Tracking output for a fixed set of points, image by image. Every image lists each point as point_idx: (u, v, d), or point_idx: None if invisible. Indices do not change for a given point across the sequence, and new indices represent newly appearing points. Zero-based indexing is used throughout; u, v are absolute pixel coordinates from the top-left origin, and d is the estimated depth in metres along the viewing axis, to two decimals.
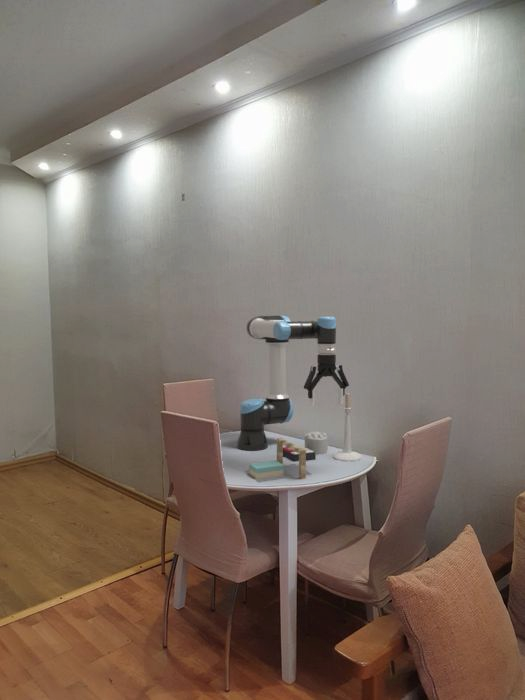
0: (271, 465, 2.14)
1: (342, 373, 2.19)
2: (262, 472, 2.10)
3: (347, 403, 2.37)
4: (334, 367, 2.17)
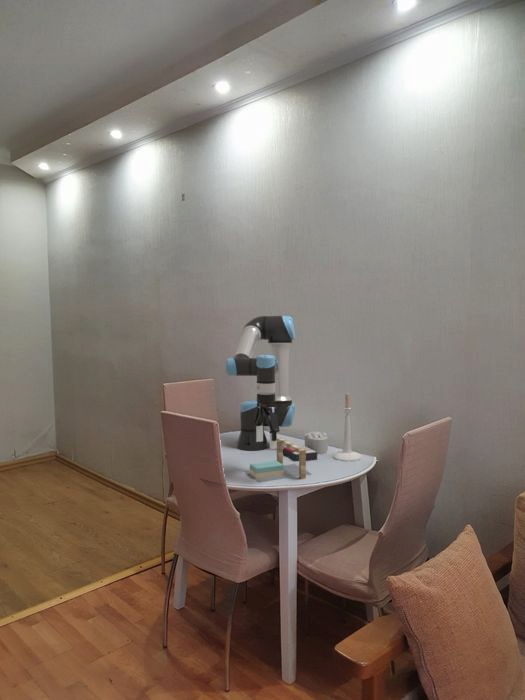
0: (271, 465, 2.14)
1: (270, 416, 2.06)
2: (262, 472, 2.10)
3: (347, 403, 2.37)
4: (266, 408, 2.10)
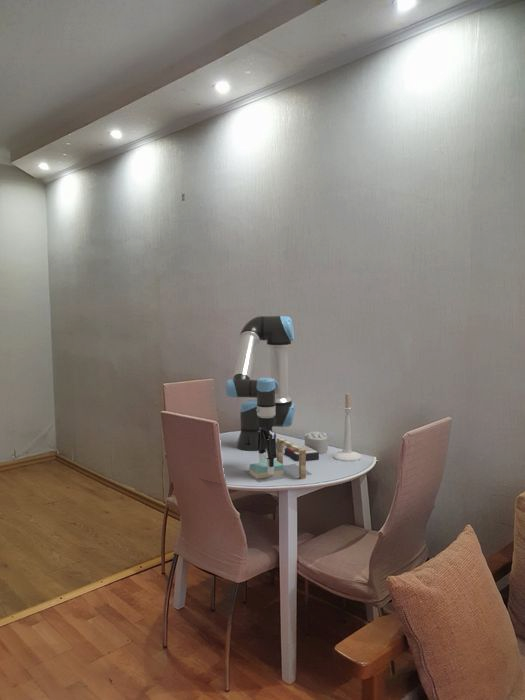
0: None
1: (269, 442, 2.08)
2: (262, 472, 2.10)
3: (347, 403, 2.37)
4: (267, 431, 2.10)
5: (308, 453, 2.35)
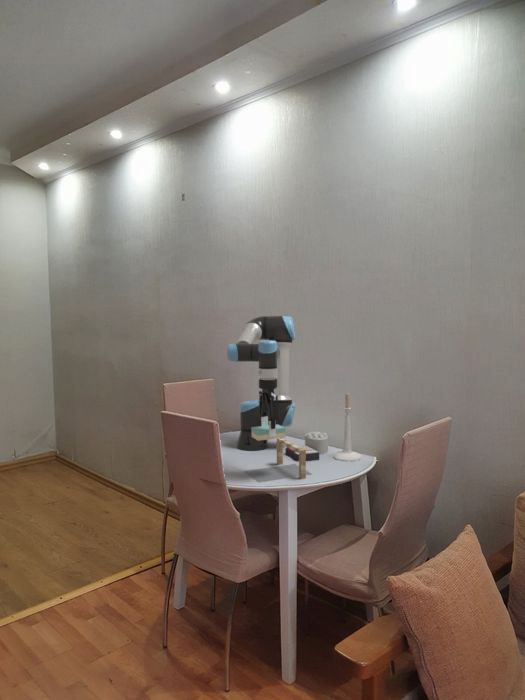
0: None
1: (271, 404, 2.07)
2: (264, 434, 2.10)
3: (347, 403, 2.37)
4: (268, 393, 2.10)
5: (308, 453, 2.35)
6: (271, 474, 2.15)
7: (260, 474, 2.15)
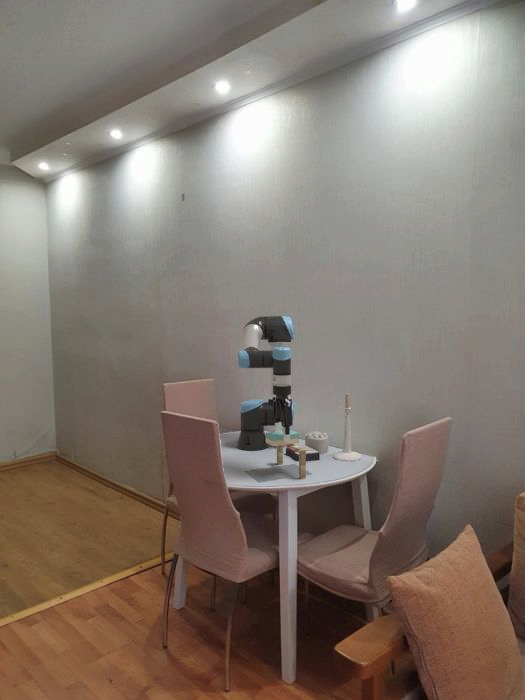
0: None
1: (285, 410, 2.10)
2: (278, 440, 2.12)
3: (347, 403, 2.37)
4: (283, 400, 2.12)
5: (309, 453, 2.35)
6: (271, 474, 2.15)
7: (260, 474, 2.15)
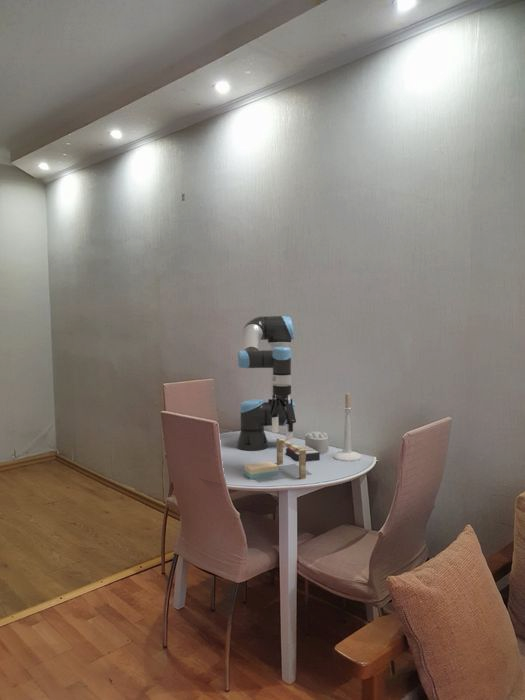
0: None
1: (287, 408, 2.09)
2: (272, 471, 2.12)
3: (347, 403, 2.37)
4: (282, 399, 2.12)
5: (309, 453, 2.35)
6: None
7: None
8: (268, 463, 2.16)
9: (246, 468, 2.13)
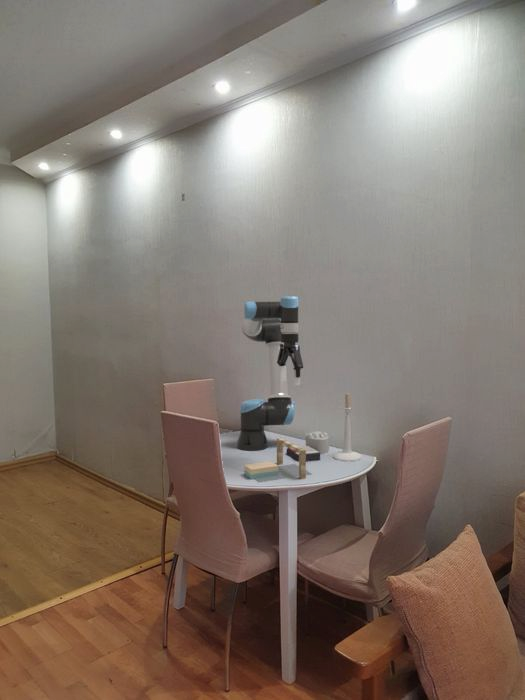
0: None
1: (294, 354, 2.15)
2: (272, 471, 2.12)
3: (347, 403, 2.37)
4: (290, 347, 2.19)
5: (309, 453, 2.35)
6: None
7: None
8: (268, 463, 2.16)
9: (246, 468, 2.13)
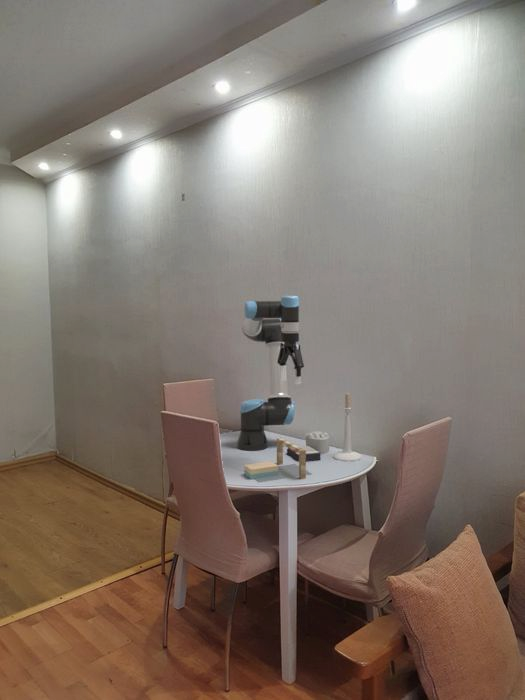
0: None
1: (295, 353, 2.16)
2: (272, 471, 2.12)
3: (347, 403, 2.37)
4: (291, 346, 2.19)
5: (309, 453, 2.35)
6: None
7: None
8: (268, 463, 2.16)
9: (246, 468, 2.13)
